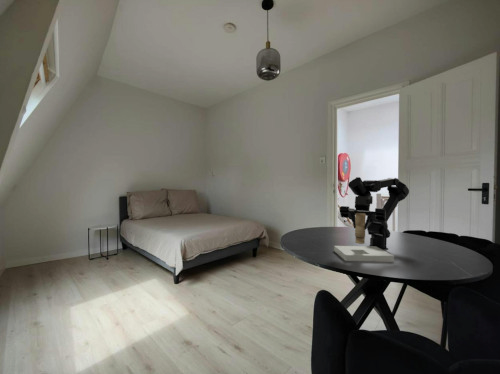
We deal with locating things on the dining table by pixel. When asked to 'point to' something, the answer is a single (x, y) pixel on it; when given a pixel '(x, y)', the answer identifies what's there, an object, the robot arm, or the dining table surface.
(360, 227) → the oak peg
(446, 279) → the dining table surface
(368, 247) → the grey socket board
